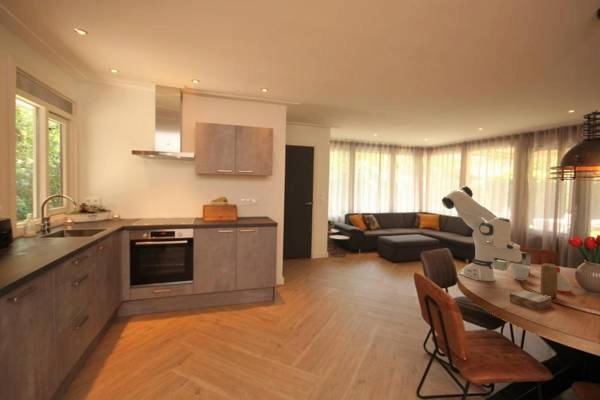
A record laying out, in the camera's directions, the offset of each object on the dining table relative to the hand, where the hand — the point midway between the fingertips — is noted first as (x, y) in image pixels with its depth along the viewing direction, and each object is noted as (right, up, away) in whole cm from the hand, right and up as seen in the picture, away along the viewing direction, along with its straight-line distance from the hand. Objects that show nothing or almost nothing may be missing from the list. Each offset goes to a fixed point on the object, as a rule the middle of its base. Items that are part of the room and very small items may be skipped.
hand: (500, 265), depth 169 cm
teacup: (+39, -18, +34) cm, 55 cm away
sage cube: (0, -2, 0) cm, 2 cm away
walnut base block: (+10, -20, -10) cm, 25 cm away
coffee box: (+55, -18, +51) cm, 77 cm away
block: (+31, -20, +2) cm, 37 cm away
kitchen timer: (+46, -19, +12) cm, 51 cm away
